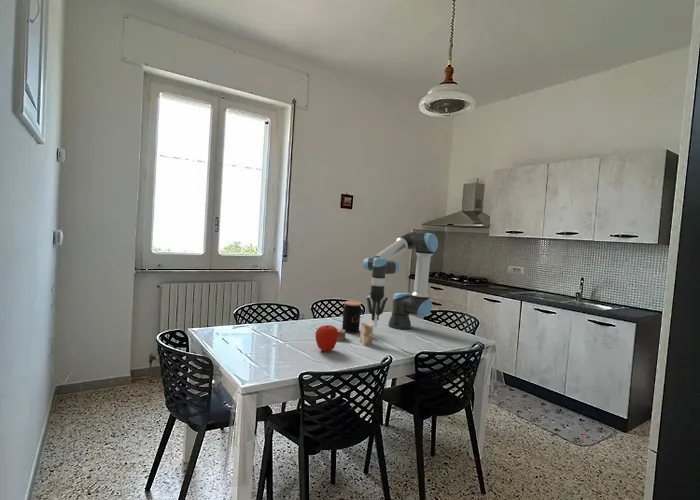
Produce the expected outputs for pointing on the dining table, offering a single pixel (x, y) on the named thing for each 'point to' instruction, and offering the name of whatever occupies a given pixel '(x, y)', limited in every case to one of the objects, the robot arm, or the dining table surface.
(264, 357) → the dining table surface
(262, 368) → the dining table surface
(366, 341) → the beech block
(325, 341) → the apple
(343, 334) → the walnut block
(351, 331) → the coffee jar
